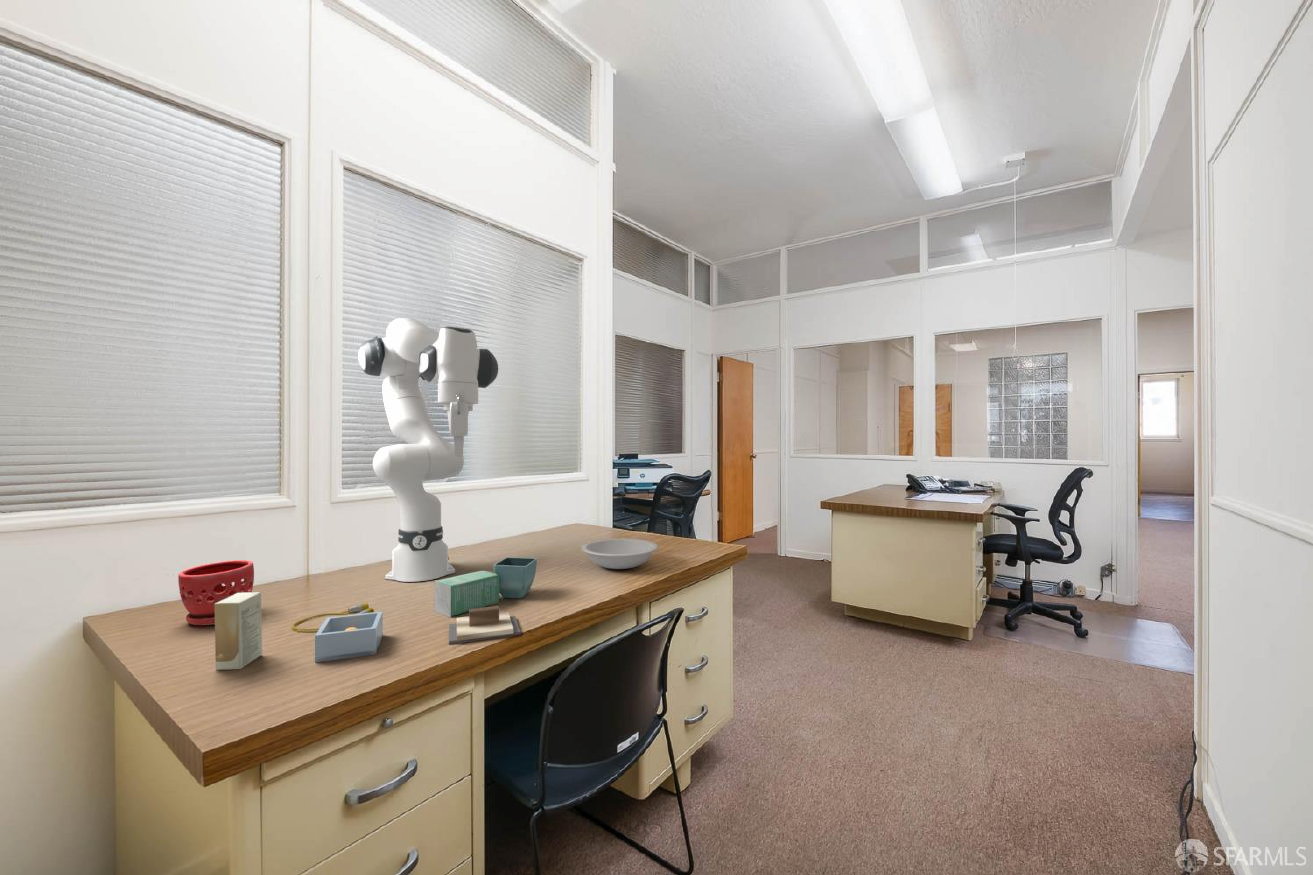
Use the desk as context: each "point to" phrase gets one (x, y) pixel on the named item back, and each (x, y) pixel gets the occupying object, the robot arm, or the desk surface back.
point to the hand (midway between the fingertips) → (458, 455)
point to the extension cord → (361, 607)
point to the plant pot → (213, 587)
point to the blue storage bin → (349, 636)
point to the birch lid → (483, 623)
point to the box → (466, 592)
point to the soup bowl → (619, 552)
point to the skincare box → (238, 630)
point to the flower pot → (515, 576)
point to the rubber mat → (454, 637)
